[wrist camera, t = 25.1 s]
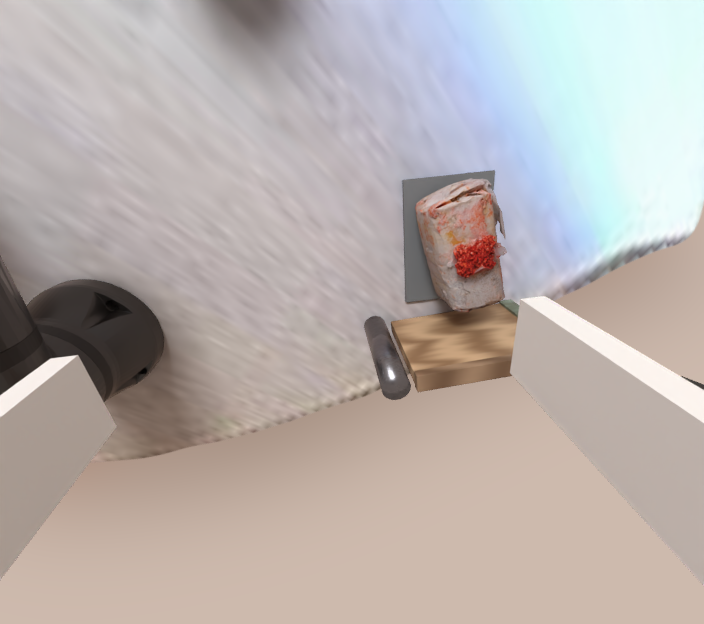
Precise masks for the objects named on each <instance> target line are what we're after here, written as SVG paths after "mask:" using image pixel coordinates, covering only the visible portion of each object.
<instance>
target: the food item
mask: <svg viewBox="0 0 704 624" xmlns="http://www.w3.org/2000/svg"><path fill="white" fill-rule="evenodd" d="M491 186H492V185H491V184H490V182H489V181H488V180H486V179H472V178H470V179H468V180H463V181H460V182H457V183H453V184H450V185H448V186H446V187H443V188H441V189H439V190H437V191H436V192H434V193H432V194H430V195H428V196H426V197H424V198H423V199H421V200H420V201H419V202H418V203H416V207H415V209H416V217H417V223H418V228H419V233H420V237H421V241H422V245H423V249H424V253H425V256H426V259H427V264H428V267H429V270H430V275H431V279H432V282H433V286H434V289H435V292H436V293H437V296H439V297H440V298H441V299H442V300H443V301H445V302H446V303H447V304H448V305H449V307H451V308H452V309H453V310H456V311H458V312H470V311H471V310H473V309H478V308H484V307H487V306H489V305H492V304H495V303H497V302H499V301H501V300H502V299H504V298H505V295H504V290H503V281H502V273H501V266H500V259H499V257H500V256H501V255H504V254H505V253H507V251H506V249H505V247H503V246H501V244H500V243H497V235H496V228H495V226H496V224H497V221H499V223H500V231H501V233H502V234H503V236H504V238H505V231H504V223H503V217H502V211H501V210H500V208H499V206H498V204H497V200H496V196H495V194H494V192H493V191H492V189H491ZM498 246H500V247H498Z"/></svg>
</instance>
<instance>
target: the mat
mask: <svg viewBox="0 0 704 624" xmlns="http://www.w3.org/2000/svg"><path fill="white" fill-rule="evenodd" d="M494 176H495V171H494V170H493V171H484V172H474V173H465V174H456V175H446V176H437V177H428V178H418V179H409V180H403V220H404V262H405V301H406V302H414V301H422V300H430V299H438V298H440V297H439V296H437V293H436V292H435V289H434V286H433V282H432V279H431V275H430V270H429V267H428V264H427V259H426V256H425V253H424V249H423V245H422V241H421V237H420V233H419V228H418V223H417V217H416V209H415V207H416V203H418V202H419V201H420V200H421V199H423V198H424V197H426V196H428V195H430V194H432V193H434V192H436V191H437V190H439V189H441V188H443V187H446V186H448V185H450V184H453V183H457V182H460V181H463V180H468V179H470V178H472V179H486V180H488V181H489V182H490V184H491V185H492V186H491V189H492V191H493V187H494Z"/></svg>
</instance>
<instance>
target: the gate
mask: <svg viewBox="0 0 704 624" xmlns="http://www.w3.org/2000/svg"><path fill="white" fill-rule="evenodd" d="M518 312H519V305H518V304H516V303H515V302H514V301H512V300H511V299H510V300H504V301H499V304H494V305H489V306H487V307H484V308H478V309H473V310H471V311H470V312H458V311H452V312H446V313H440V314H434V315H428V316H422V317H416V318H410V319H404V320H398V321H392V322H391V327H392V333H393V335H394V337H395V339H396V342H397V344H398V346H399V349H400V351H401V353H402V355H403V358H404V360H405V362H406V365H407V367H408V369H409V371H410V374H411V376H412V378H413V381H414V383H415V387H416V389H417V391H418V392H422V391H427V390H433V389H438V388H445V387H450V386H456V385H462V384H467V383H473V382H478V381H485V380H490V379H496V378H501V377H508V376H512V375H511V374H510V368H511V361H512V354H513V347H514V340H515V333H516V326H517V319H518Z"/></svg>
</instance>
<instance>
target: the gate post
mask: <svg viewBox="0 0 704 624" xmlns="http://www.w3.org/2000/svg"><path fill="white" fill-rule="evenodd" d="M364 328H365V332H366V335H367V339H368V343H369V346H370V350H371V353H372V357H373V361H374V364H375V368H376V371H377V375H378V379H379V382H380V386H381V389H382V392H383V395H384V396H385V397H386V398H389V399H391V400H397V399H401V398H403V397H405V396H406V395H407V394H408V393H409V391H410V387H411V385H410V382H409V379H408V377H407V374H406V372H405V370H404V367H403V365H402V362H401V360H400V358H399V355H398V353H397V350H396V348H395V346H394V343H393V341H392V338H391V336H390V334H389V331H388V329H387V326H386V324H385V322H384V320H383V319H382V318H381V317H378V316H373V317H370V318H369V319H367V320H366V322H365V325H364Z"/></svg>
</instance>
